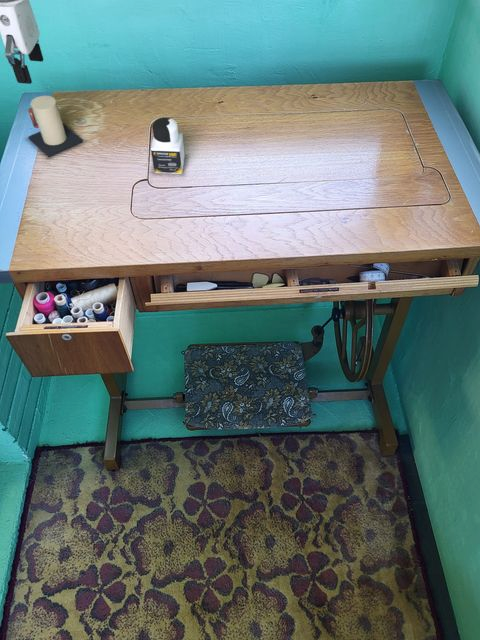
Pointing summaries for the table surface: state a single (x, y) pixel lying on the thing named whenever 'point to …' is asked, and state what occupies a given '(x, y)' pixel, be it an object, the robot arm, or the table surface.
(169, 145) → the medicine bottle
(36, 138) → the rubber mat
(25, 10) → the robot arm
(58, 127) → the cream cylinder canister
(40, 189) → the table surface
